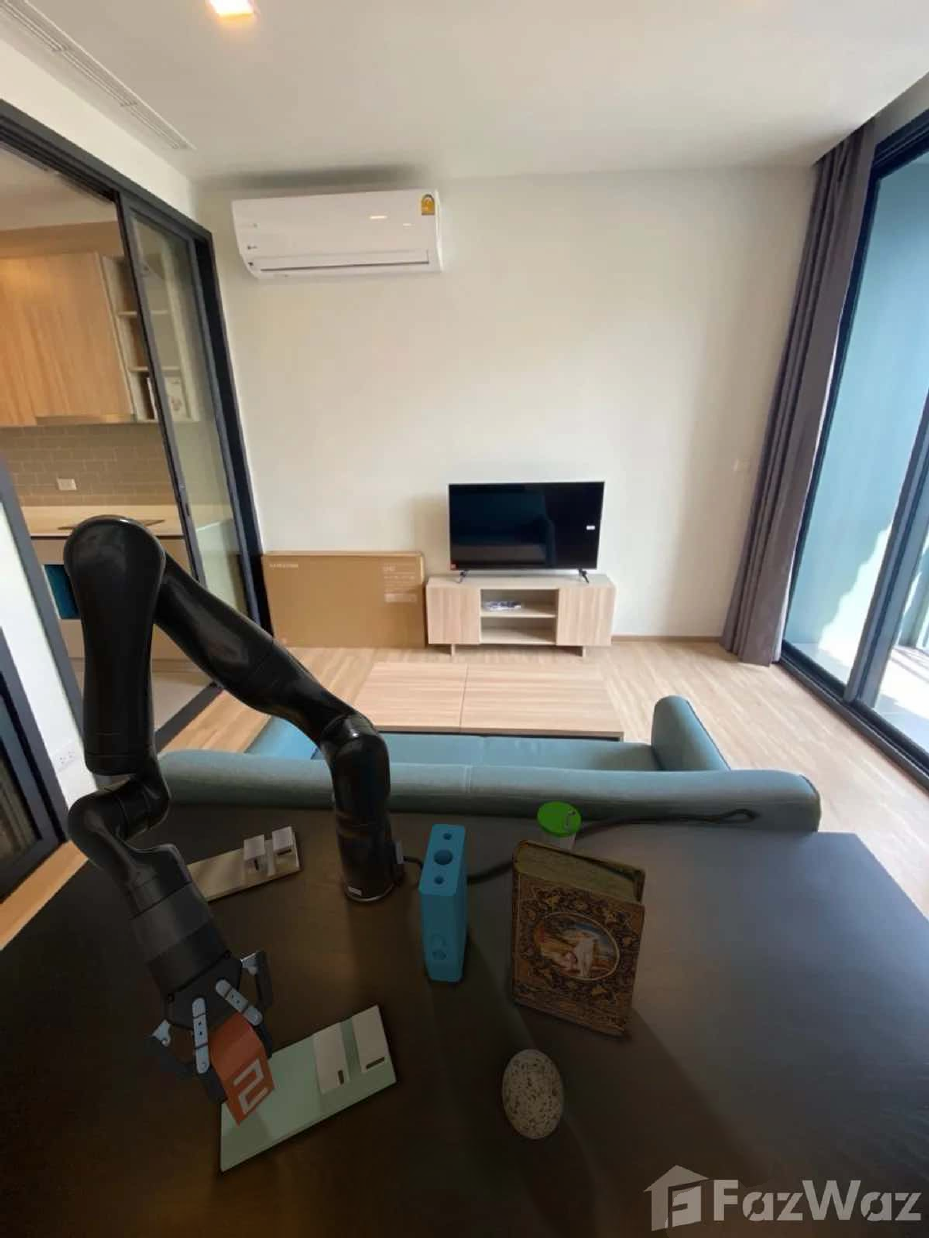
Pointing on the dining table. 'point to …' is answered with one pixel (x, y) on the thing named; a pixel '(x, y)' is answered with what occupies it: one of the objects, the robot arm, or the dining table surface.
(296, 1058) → the switch panel board
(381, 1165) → the dining table surface
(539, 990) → the book
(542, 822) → the cup
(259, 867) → the beige switch panel
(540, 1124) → the decorative egg
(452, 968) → the block
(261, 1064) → the orange red rectangular block
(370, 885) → the robot arm
